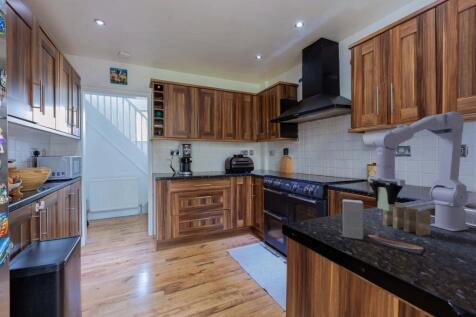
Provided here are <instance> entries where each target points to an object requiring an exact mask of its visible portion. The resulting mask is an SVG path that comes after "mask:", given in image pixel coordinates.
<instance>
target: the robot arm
mask: <svg viewBox="0 0 476 317" xmlns="http://www.w3.org/2000/svg"><path fill="white" fill-rule="evenodd" d="M464 120H465V118H464V116H463V115H462V114H461V113H460V112H459V111H456V110H454V111H453V110H452V111H449V112H444V113H440V114H433V115H428V116H424V117H423V118H421V119H419V120H417V121H416V122H413V123H412V124H410V125H406V124H404V125H403V124H399V125H396V128H394V129H392V130H390V129H389V130H386V133H383V134H378V135H377V136H376V137H375V138H374V140H373V141H372V146H373V147H374V150H375V153H376V160H375V161H376V162H375V163H376V166H375V167H376V168H375V169H376V173H375V175H376V176H368V177H367V178H368V184H369V186H370V189H372V190H371V191H372V192H373V195H374V199H375V201H376V202H377V203H378V187H385V188H386V191H387V201H388V204H389V205H394V204H395V205H396V202H397V197H398V195H399V193H400V192H401V191H402V189H403V188H404V187H403V186H406V180H405V179H399V178H396V177H395V176H396V171H395V169H396V162H395V161H396V149H397V148H398V147H399V146H400V144H402V143H405V142H407V141H409V140H411V139H412V138H413V137H414V136H415V135H414V134H416V133H419V132H421V131H424V130H427V131H428V132H430V133H432V134H434V135H436V136H437V137H440V138H441V140H442V141H441V142H442V143H441V154H440V155H441V156H440V165H439V166H440V167H439V177H438V179H436V180H435V181H433V182H432V187H431V188H430V190H429V197H430V199H431V200H432V202H433V203H434V204H435V205H434V206H435V208H434V212H435V214H434V223H430V227H431V226H432V227H435V228H438V229H442V230H443V229H444V230H447V231H451V232H459V231H460V232H461V231H465V230H469V227H467V226H466V224H467V212H466V209H465V208H464V206H465V205H466V203H468V200H469V195H468V192H467V185H465V183H463V182H461V181H460V180H459V179H460V178H459V176H460V168H461V167H460V165H461V155H462V154H461V152H462V144H463V143H462V142H463V132H464V124H465V123H464Z"/></svg>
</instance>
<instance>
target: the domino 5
mask: <svg viewBox="0 0 476 317" xmlns="http://www.w3.org/2000/svg"><path fill="white" fill-rule="evenodd" d="M430 224H431V211H429V210H418V211H416V231H415V235H417V236H420V237H422V236H427V235H431V226H430Z"/></svg>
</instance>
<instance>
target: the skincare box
mask: <svg viewBox="0 0 476 317" xmlns="http://www.w3.org/2000/svg"><path fill="white" fill-rule="evenodd" d="M342 237H343V238H348V239H354V240H355V239H357V240H362V239H363V237H364V202H363V201H362V200H356V199H342Z"/></svg>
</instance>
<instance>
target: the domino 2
mask: <svg viewBox="0 0 476 317" xmlns="http://www.w3.org/2000/svg"><path fill="white" fill-rule="evenodd" d="M395 206H397V205H396V203H395V204H394V205H393V207H395ZM382 225H383V226H389V227H390V226H393V208H392V211H387V210H383V209H382Z"/></svg>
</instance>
